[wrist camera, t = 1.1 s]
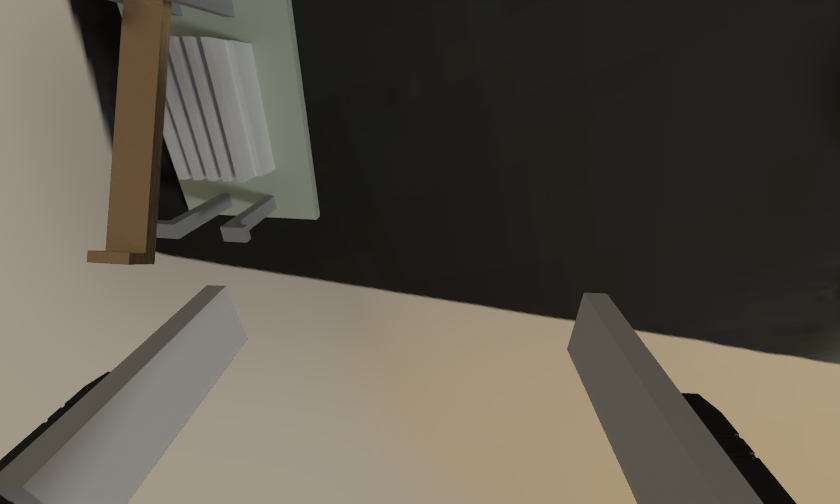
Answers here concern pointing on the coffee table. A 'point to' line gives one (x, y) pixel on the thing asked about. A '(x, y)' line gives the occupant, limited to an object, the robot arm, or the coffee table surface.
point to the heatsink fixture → (236, 116)
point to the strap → (137, 134)
